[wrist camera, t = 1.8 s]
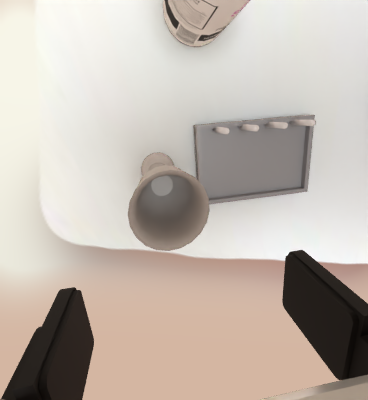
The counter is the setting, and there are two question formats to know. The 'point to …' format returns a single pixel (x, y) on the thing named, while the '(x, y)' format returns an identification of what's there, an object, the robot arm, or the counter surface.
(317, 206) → the counter surface
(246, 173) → the drying rack
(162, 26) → the counter surface
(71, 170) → the counter surface
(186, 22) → the supplement can
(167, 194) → the chalice
